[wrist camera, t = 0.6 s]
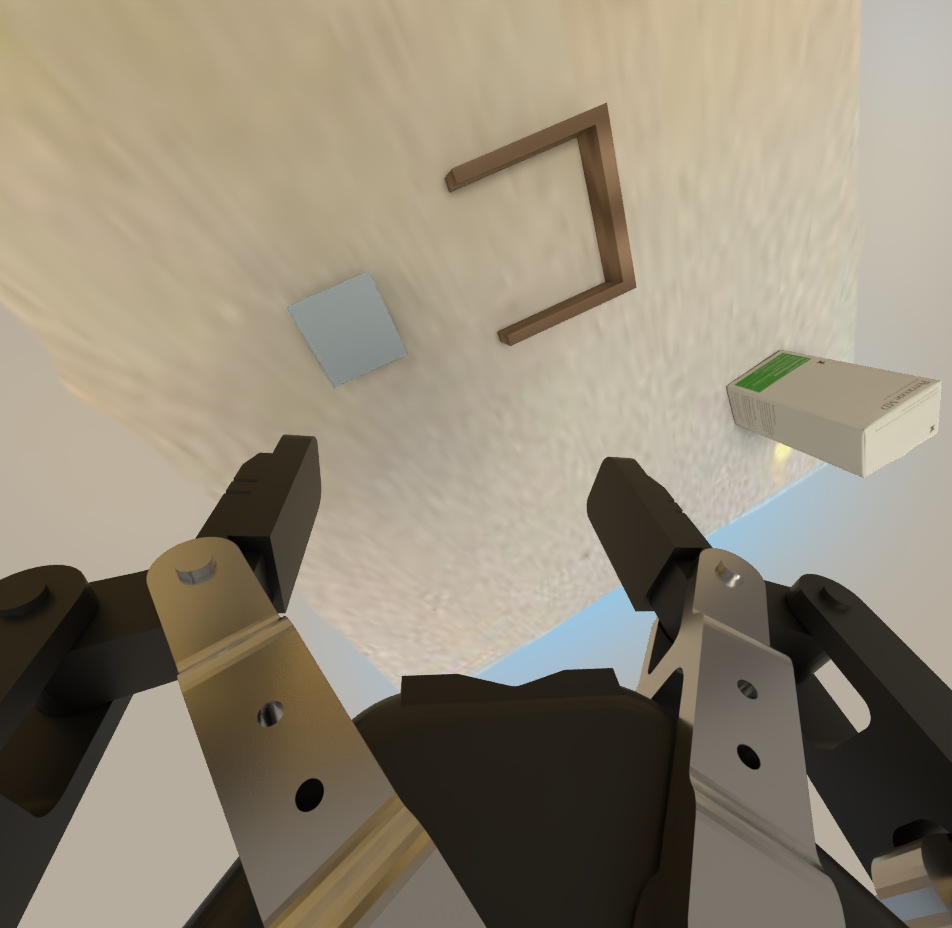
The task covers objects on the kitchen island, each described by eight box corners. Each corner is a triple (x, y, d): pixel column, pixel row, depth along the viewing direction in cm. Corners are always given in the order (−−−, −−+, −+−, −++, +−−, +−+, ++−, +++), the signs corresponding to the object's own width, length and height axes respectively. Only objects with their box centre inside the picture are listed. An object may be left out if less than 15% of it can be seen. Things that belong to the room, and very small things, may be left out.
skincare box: (780, 348, 48) (947, 374, 34) (787, 392, 51) (942, 432, 37) (722, 387, 48) (866, 428, 34) (732, 428, 51) (868, 481, 38)
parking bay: (444, 178, 32) (452, 168, 30) (587, 117, 33) (606, 102, 30) (500, 341, 39) (510, 345, 36) (618, 287, 40) (636, 287, 37)
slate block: (302, 302, 33) (286, 306, 26) (367, 273, 34) (369, 270, 27) (339, 367, 36) (333, 388, 29) (399, 340, 36) (408, 354, 29)
